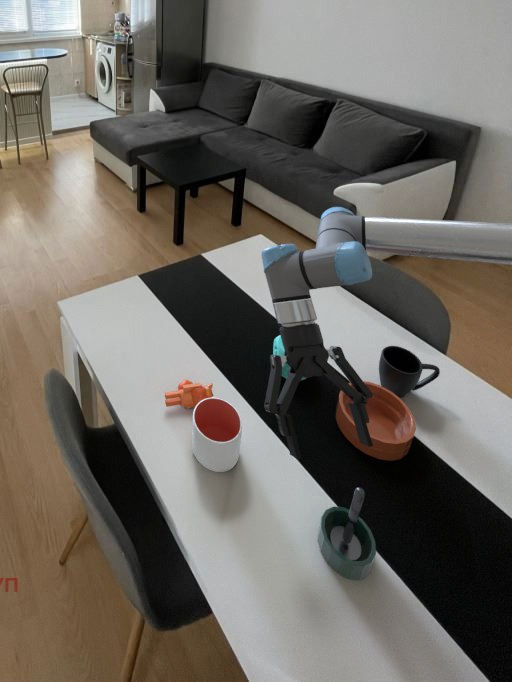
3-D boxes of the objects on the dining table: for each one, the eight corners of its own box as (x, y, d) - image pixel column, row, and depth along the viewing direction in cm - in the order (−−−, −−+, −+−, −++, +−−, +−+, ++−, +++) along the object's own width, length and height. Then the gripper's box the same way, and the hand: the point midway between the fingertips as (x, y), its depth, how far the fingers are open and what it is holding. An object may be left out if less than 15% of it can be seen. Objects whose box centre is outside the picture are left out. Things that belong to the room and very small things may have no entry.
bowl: (406, 414, 98) (411, 395, 96) (412, 475, 87) (419, 456, 84) (336, 389, 105) (340, 372, 102) (334, 443, 93) (338, 424, 91)
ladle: (359, 541, 77) (377, 482, 70) (359, 573, 73) (379, 514, 66) (328, 526, 79) (343, 467, 72) (327, 556, 75) (343, 497, 68)
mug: (437, 411, 98) (448, 382, 95) (378, 398, 102) (386, 369, 98) (425, 381, 106) (434, 352, 102) (370, 370, 109) (378, 342, 106)
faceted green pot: (369, 537, 78) (374, 521, 76) (371, 593, 71) (376, 576, 69) (319, 513, 81) (322, 497, 79) (315, 564, 74) (319, 548, 73)
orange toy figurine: (167, 396, 99) (217, 389, 100) (160, 377, 106) (206, 370, 107) (168, 417, 99) (218, 409, 100) (161, 396, 106) (208, 389, 108)
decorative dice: (272, 353, 115) (275, 330, 112) (303, 357, 114) (307, 334, 111) (276, 378, 108) (279, 355, 105) (310, 383, 107) (314, 360, 103)
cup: (236, 482, 87) (239, 450, 83) (187, 465, 90) (188, 434, 86) (240, 435, 95) (243, 404, 92) (196, 422, 99) (197, 391, 95)
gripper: (345, 316, 89) (382, 435, 81) (231, 332, 87) (257, 455, 79) (367, 315, 82) (409, 444, 74) (244, 332, 80) (273, 467, 72)
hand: (331, 450), depth 77 cm, fingers open, 13 cm apart
